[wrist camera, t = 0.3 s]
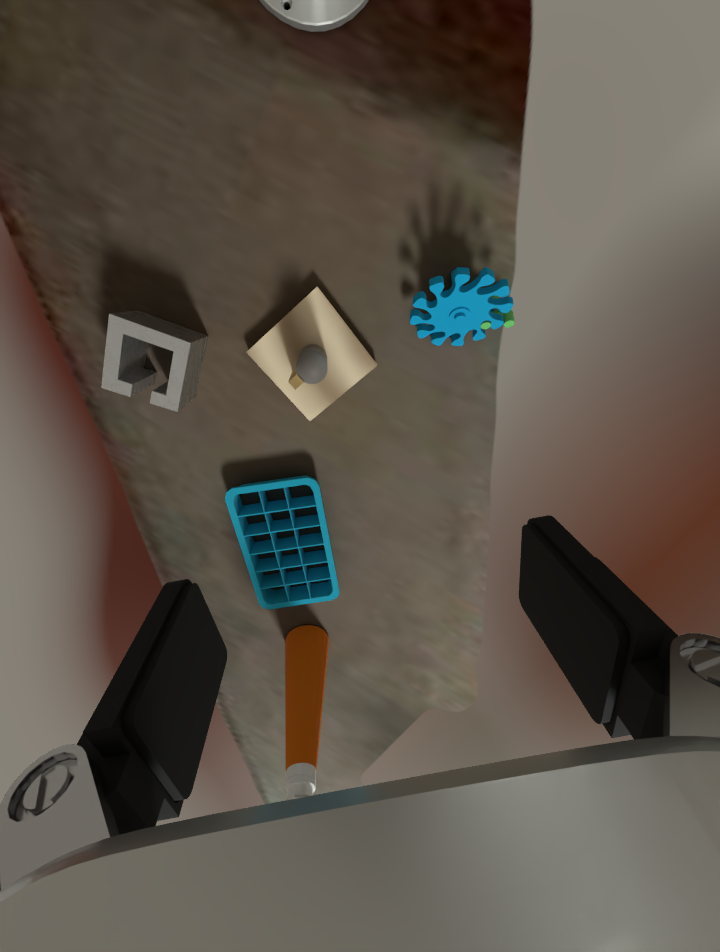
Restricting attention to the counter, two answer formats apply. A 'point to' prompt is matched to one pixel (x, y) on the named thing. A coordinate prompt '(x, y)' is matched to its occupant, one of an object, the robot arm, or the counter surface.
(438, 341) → the gear
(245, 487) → the ice cube tray
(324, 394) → the keyed post stand
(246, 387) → the counter surface
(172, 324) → the grey hollow block
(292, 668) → the spray bottle
